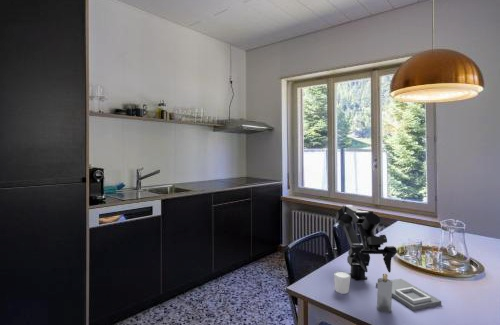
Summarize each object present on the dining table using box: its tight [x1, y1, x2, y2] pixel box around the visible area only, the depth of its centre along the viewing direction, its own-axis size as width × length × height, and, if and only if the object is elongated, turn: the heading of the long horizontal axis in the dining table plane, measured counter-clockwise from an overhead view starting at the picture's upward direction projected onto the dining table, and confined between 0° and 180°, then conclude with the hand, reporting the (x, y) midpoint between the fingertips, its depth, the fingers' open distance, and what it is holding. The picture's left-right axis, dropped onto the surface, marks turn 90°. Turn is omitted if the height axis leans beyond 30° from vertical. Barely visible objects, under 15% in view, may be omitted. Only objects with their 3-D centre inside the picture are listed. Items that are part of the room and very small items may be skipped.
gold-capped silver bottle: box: [376, 273, 393, 314], centre depth 109 cm, size 5×5×14 cm
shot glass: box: [333, 271, 352, 295], centre depth 123 cm, size 7×7×7 cm
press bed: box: [375, 278, 442, 311], centre depth 120 cm, size 20×14×3 cm
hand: (378, 272), depth 114 cm, fingers open, 9 cm apart
